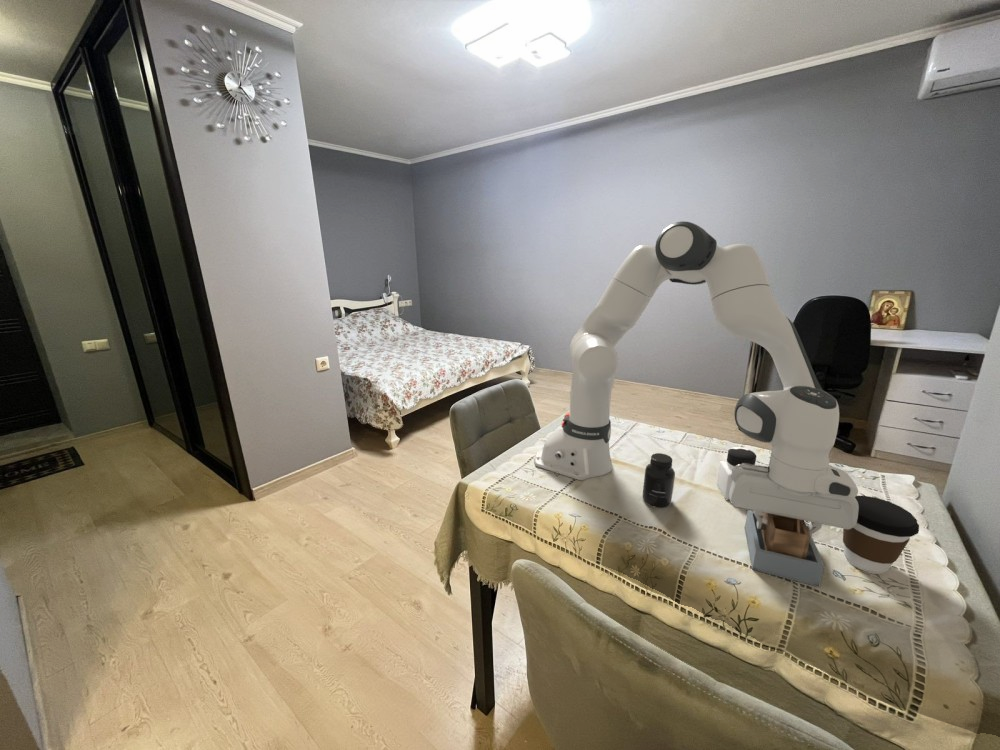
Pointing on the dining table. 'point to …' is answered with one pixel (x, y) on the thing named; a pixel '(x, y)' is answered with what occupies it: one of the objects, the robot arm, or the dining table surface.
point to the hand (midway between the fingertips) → (782, 532)
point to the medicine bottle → (725, 467)
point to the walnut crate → (786, 536)
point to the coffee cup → (878, 534)
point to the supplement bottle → (659, 481)
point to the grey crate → (782, 557)
